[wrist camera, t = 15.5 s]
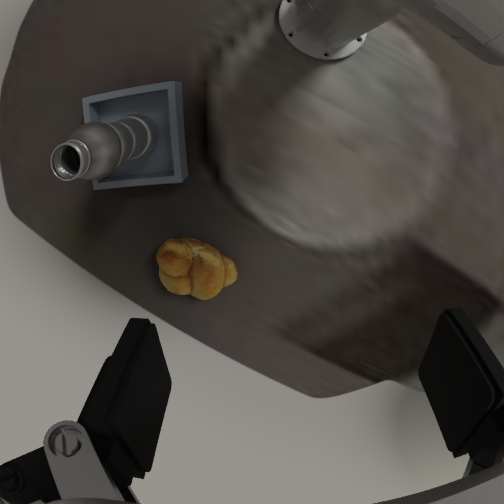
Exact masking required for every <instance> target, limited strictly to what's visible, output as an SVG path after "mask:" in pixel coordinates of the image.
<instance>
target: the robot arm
mask: <svg viewBox="0 0 504 504" xmlns="http://www.w3.org/2000/svg"><path fill="white" fill-rule="evenodd" d="M287 1H288V0H283V1H282V2H281V5H280V9H279V14H278V15H279V24H280V28H281V31H282V33H283V35H284V36H285V38H286V39H287V40H288V42H289V43H290V44H291V45H292V46H293V47H294V48H295V49H297V50H298V51H300V52H301V53H303V54H305V55H307V56H310V57H313V58H316V59H321V60H337V59H341V58H345V57H347V56H349V55H351V54H353V53H354V52H356V51H357V50H358V49H359V48H360V47H361V46H362V45H363V43H364V42H365V39H366V37H367V34H368V32H369V31H370V30H372V29H374V28H376V27H378V26H379V25H381V24H383V23H385V22H386V21H388V20H390V19H391V18H393V17H394V16H395V15H396V14H397V13H398V12H399V11H400V9H401V8H402V7H403V8H405V9H407V10H408V11H410V12H412V13H413V14H416V15H418V16H420V17H421V18H423V19H424V20H426V21H427V22H429V23H430V24H432V25H433V26H435V27H436V28H438V29H439V30H441V31H442V32H443V33H445V34H446V35H448V36H449V37H450V38H452V39H453V40H454V41H456V42H457V43H458V44H460V45H461V46H463V47H464V48H465V49H466V50H468V51H469V52H471V53H472V54H473V55H475V56H476V57H478V58H479V59H481V60H483V61H485V62H487V63H489V64H492V65H497V66H504V0H289V1H290V3H289V2H287ZM289 34H292V37H290V36H289ZM356 39H358V40H359V42H358V41H357V40H356ZM324 53H326V54H327V56H324ZM418 375H419V379H420V381H421V383H422V386H423V388H424V390H425V393H426V395H427V397H428V400H429V402H430V405H431V407H432V409H433V412H434V414H435V417H436V419H437V422H438V425H439V427H440V430H441V432H442V435H443V438H444V440H445V443H446V446H447V448H448V450H449V451H451V452H452V453H453V456H454V458H456V457H459V456H462V455H465V454H467V453H468V454H469V456H470V458H469V461H468V464H467V467H466V470H465V472H464V475H463V477H462V479H459V480H457V481H454V482H451V483H448V484H445V485H442V486H439V487H436V488H433V489H430V490H426V491H423V492H419V493H416V494H412V495H408V496H405V497H401V498H396V499H392V500H388V501H383V502H379V503H374V504H504V369H503V367H502V365H501V364H500V363H499V361H498V359H497V358H496V356H495V355H494V353H493V352H492V350H491V349H490V347H489V346H488V344H487V343H486V341H485V340H484V338H483V337H482V336H481V334H480V333H479V331H478V330H477V328H476V327H475V326H474V324H473V323H472V322H471V320H470V319H469V317H468V316H467V315H466V313H465V312H464V311H463V310H462V309H461V308H450V309H445V310H444V312H443V314H441V315H440V316H439V319H438V321H437V324H436V327H435V330H434V332H433V335H432V338H431V340H430V343H429V345H428V348H427V350H426V353H425V355H424V358H423V360H422V362H421V365H420V367H419V371H418ZM170 391H171V377H170V374H169V371H168V367H167V364H166V361H165V357H164V354H163V350H162V347H161V344H160V340H159V336H158V333H157V329H156V326H155V324H153V323H150V321H149V319H143V318H131V319H130V320H129V322H128V324H127V326H126V328H125V330H124V332H123V334H122V336H121V338H120V340H119V342H118V344H117V346H116V348H115V350H114V352H113V354H112V356H109V357H108V358H107V359H106V360H105V362H104V364H103V366H102V368H101V370H100V372H99V374H98V377H97V379H96V381H95V383H94V385H93V387H92V389H91V391H90V394H89V396H88V398H87V400H86V402H85V405H84V407H83V409H82V411H81V414H80V416H79V418H78V421H77V422H74V421H61V422H58V423H56V424H54V425H53V426H52V427H51V428H50V429H49V430H48V431H47V433H46V435H45V437H44V442H43V443H44V446H43V447H41V448H38V449H36V450H34V451H32V452H29V453H27V454H25V455H22V456H20V457H18V458H16V459H13V460H11V461H8V462H6V463H4V464H2V465H1V466H0V504H140V502H139V501H138V499H137V497H136V496H135V494H134V493H133V491H132V489H131V487H130V485H131V483H132V479H133V477H135V478H141V479H144V476H145V472H150V470H151V468H152V464H153V459H154V455H155V451H156V447H157V443H158V439H159V434H160V430H161V426H162V422H163V418H164V414H165V410H166V406H167V403H168V399H169V395H170Z"/></svg>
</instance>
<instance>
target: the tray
mask: <svg viewBox="0 0 504 504" xmlns="http://www.w3.org/2000/svg"><path fill="white" fill-rule="evenodd" d="M82 100H83V112H84V123H89V122H106V123H109V122H115V121H118V120H119V119H121V118H123V117H125V116H127V115H130V114H141V115H145V116H147V117H149V118H150V119H152V120H153V121H154V123H155V124H156V126H157V130H158V139H157V142H156V144H155V146H154V148H153V149H152V150H151V151H150V152H149V153H148V154H147V155H145V156H143V157H141V158H138V159H130V160H126V161H124V162H123V163H121V164H120V165H119V166H118V167H117V168H116V169H115V170H114V171H112V172H111V173H110V174H109V175H107V176H106V177H104V178H102V179H99V180H92V183H93V189H94V190H100V189H110V188H120V187H131V186H142V185H155V184H169V183H182V182H183V181H184V180H185V179H186V178H187V177H188V166H187V154H186V141H185V127H184V112H183V95H182V82H177V81H170V82H163V83H156V84H150V85H144V86H138V87H132V88H127V89H122V90H117V91H112V92H107V93H103V94H98V95H94V96H90V97H86V98H82Z"/></svg>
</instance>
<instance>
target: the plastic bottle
mask: <svg viewBox="0 0 504 504" xmlns="http://www.w3.org/2000/svg"><path fill="white" fill-rule="evenodd" d="M157 139H158V130H157V126H156V124H155V123H154V121H153V120H152V119H150V118H149V117H147V116H145V115H141V114H130V115H127V116H125V117H123V118H121V119H119V120H118V121H115V122H109V123H106V122H89V123H85V124H83V125H81V126H80V127H78V128H77V129H76V130H75V131H74V132H73V133H72V134H71V135H70V136H69V138H68V140H67V141H66V142H65V143H62V144H60V145H59V146H57V147H56V148H55V149H54V151H53V153H52V155H51V168H52V170H53V173H54V174H55V175H56V176H57V177H58V178H59V179H61V180H63V181H70V180H73V179H75V178H80V179H83V180H99V179H102V178H104V177H106V176H107V175H109V174H110V173H111V172H112V171H114V170H115V169H116V168H117V167H118V166H119V165H120V164H121V163H123V162H124V161H126V160H130V159H138V158H141V157H143V156H145V155H147V154H148V153H149V152H150V151H151V150H152V149H153V148H154V146H155V144H156V142H157Z"/></svg>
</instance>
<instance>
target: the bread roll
mask: <svg viewBox="0 0 504 504" xmlns="http://www.w3.org/2000/svg"><path fill="white" fill-rule="evenodd" d="M156 256H157V257H156V259H157V262H158V264H159V278H160V280H161V282H162V284H163V285H164V286H165V287H166V288H167V290H168V291H170V292H172V293H175V294H179V295H187V294H191V295H192V296H194V297H196V298H198V299H202V300H207V299H211V298H213V297H214V296H216V295H217V294H218V293H219V292H220V291H221V289H222V287H226V286H229V285H231V284H232V283H234V282H235V281H236V279H237V276H238V270H237V267H236V265H235V263H234V261H233V260H231V259H230V258H229V257H227V256H225V255H223V254H220V252H219V251H218V250H217V249H216V248H215V247H214V246H212V245H210V244H208V243H206V242H204V241H201V240H198V239H195V238H190V237H183V238H178V239H173V238H171V239H168V240H167V241H165V242H164V243H163V244H162V245H161V246H160V248H159V250H158V252H157V254H156Z"/></svg>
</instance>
